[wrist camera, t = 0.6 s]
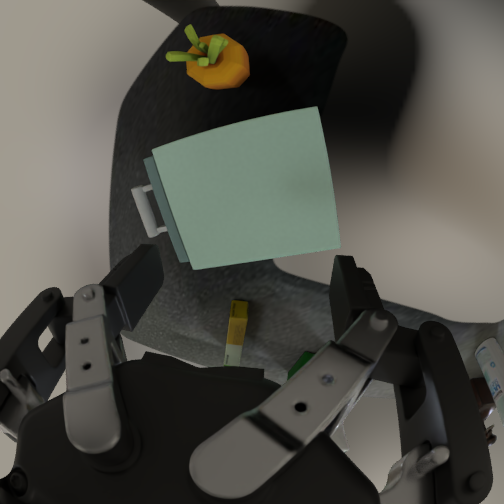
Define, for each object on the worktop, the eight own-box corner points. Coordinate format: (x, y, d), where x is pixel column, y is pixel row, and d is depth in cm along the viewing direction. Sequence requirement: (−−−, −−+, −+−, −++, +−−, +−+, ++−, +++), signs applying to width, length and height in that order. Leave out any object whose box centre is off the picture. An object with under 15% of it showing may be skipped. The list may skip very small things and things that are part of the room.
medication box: (240, 351, 46) (238, 369, 43) (224, 349, 46) (222, 367, 43) (249, 301, 40) (248, 320, 37) (231, 298, 40) (228, 317, 37)
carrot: (211, 90, 27) (149, 75, 14) (224, 52, 25) (173, 11, 12) (251, 101, 27) (218, 88, 14) (266, 63, 25) (244, 21, 12)
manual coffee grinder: (446, 403, 50) (460, 456, 35) (472, 377, 45) (492, 434, 29) (475, 400, 50) (490, 447, 35) (499, 377, 45) (518, 425, 29)
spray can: (477, 342, 40) (511, 416, 22) (499, 333, 38) (534, 401, 20) (471, 361, 42) (498, 431, 25) (492, 351, 40) (521, 417, 23)
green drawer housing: (216, 231, 36) (193, 270, 27) (188, 138, 30) (151, 149, 22) (328, 212, 33) (341, 248, 24) (309, 109, 27) (317, 106, 19)
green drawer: (172, 238, 36) (147, 268, 29) (144, 158, 31) (109, 172, 24) (306, 213, 32) (309, 242, 25) (285, 118, 27) (284, 119, 20)
